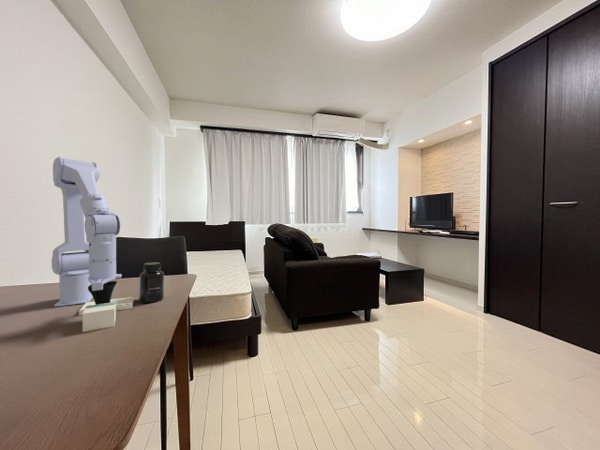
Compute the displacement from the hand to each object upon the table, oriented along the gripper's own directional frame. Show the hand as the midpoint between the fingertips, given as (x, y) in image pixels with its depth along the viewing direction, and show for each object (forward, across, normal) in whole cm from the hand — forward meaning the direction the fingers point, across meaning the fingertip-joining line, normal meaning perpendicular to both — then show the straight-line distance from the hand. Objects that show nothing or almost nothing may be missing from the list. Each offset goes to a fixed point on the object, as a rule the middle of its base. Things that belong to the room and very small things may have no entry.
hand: (103, 310), depth 67 cm
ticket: (+2, +9, 0) cm, 9 cm away
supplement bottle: (+2, +11, -11) cm, 15 cm away
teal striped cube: (+2, -5, 0) cm, 5 cm away
